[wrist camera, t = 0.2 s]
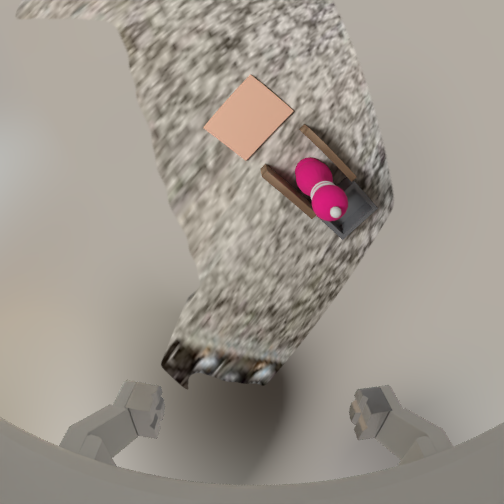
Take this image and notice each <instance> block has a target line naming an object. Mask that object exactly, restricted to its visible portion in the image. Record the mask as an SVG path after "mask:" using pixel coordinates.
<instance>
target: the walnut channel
mask: <svg viewBox="0 0 504 504" xmlns="http://www.w3.org/2000/svg"><path fill="white" fill-rule="evenodd" d="M299 130H300V131H301V132H303V133H304V134H305V135H306V136H307V137H308V138H309V139H310V140H311V141H312V142H313V143H314V144H315V145H316V146H317V147H318V148H319V149H320V150H321V151H322V152H323V153H324V154H325V155H326V156H327V157H328V158H329V159H330V160H331V161H332V162H333V163H334V164H335V165H336V166H337V167H338V168H339V169H340V170H341V171H342V172H343V173H344V174H345V175H346V176H347V177H348V178H349V180H350V181H351V182H352V181H353V180H354V179H355V178H356V175H355V174H354V173H353V172H352V171H351V170H350V169H349V168H348V167H347V166H346V165H345V164H344V162H343V161H342V160H341V159H340V158H339V157H338V156H337V155H336V154H335V153H334V152H333V151H332V150H331V149H330V148H329V147H328V146H327V145H326V144H325V143H324V142H323V141H322V140H321V139H320V138H319V137H318V136H317V135H316V134H315V133H314V132H313V131H312V130H311V129H310V128H308V127H307V126H306V125H305V124H304V125H303V126H302V127H301V128H300V129H299ZM261 174H262V177H263V178H264V179H265V180H266V181H268V182H269V183H270V184H271V185H272V186H274V187H275V188H276V189H277V190H278V191H280V192H281V193H282V194H283V195H284V196H286V197H287V198H288V199H289V200H290V201H292V202H293V203H294V204H295V205H296V206H297V207H299V208H300V209H301V210H302V211H303V212H304V213H305V214H307V215H308V216H309V217H310V218H311V219H313V218H314V217H315V216H316V214H315V212H314V211H313V208H312V204H311V203H310V202H309V201H308V200H307V199H306V198H305V197H304V196H302V195H301V194H300V193H299V192H298V191H297V190H296V189H294V188H293V187H292V186H291V185H290V184H289V183H288V182H286V181H285V180H284V179H283V178H282V177H281V176H279V175H278V174H277V173H276V172H275V171H274V170H272V169H271V168H270V167H269V166H268V165H266V164H265V165H264V166H263V167H262V168H261Z"/></svg>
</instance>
